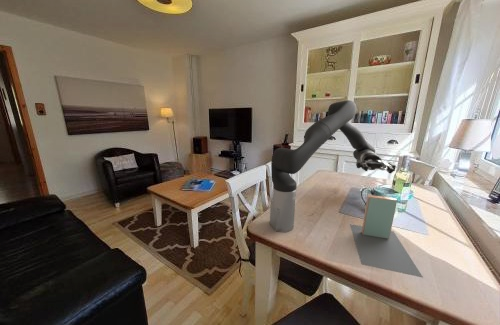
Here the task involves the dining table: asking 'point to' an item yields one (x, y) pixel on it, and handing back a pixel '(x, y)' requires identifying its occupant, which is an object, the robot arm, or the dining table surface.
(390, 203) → the glazed tile
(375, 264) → the mat
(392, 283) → the dining table surface
